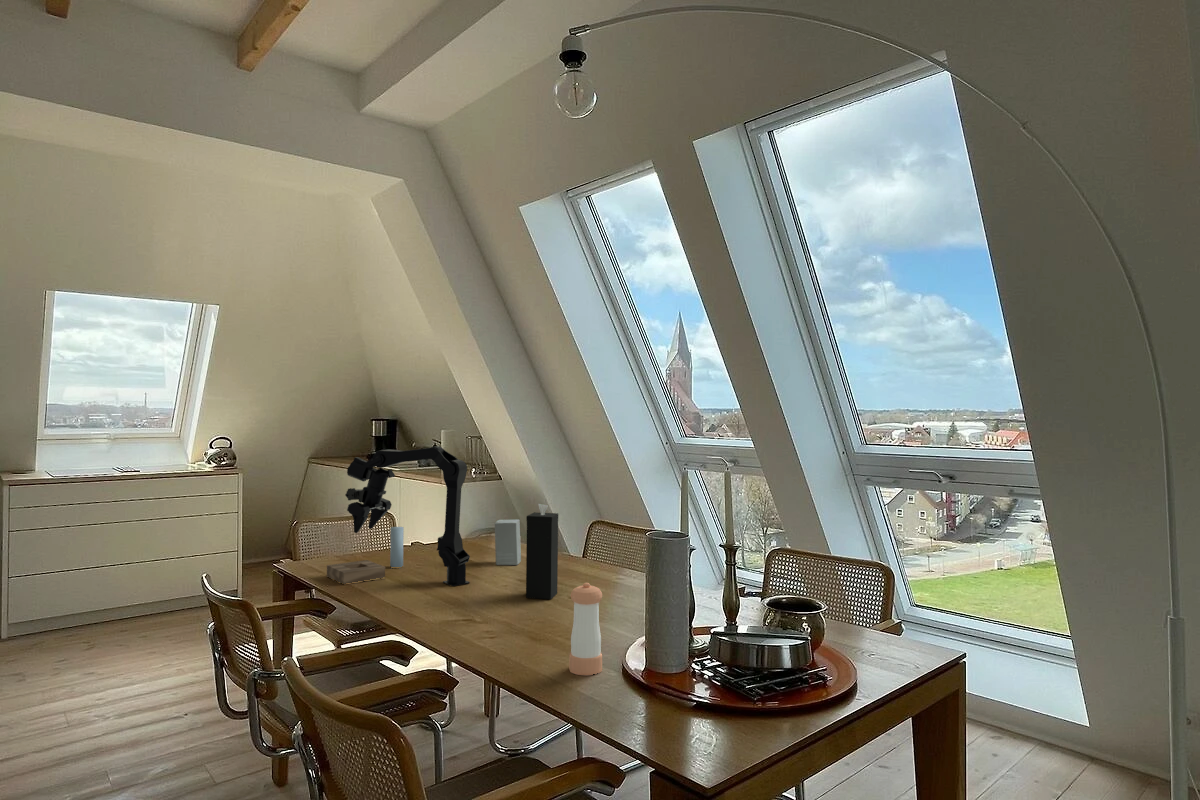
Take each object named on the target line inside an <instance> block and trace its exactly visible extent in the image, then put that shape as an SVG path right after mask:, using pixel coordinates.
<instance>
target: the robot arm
mask: <svg viewBox="0 0 1200 800" xmlns="http://www.w3.org/2000/svg"><path fill="white" fill-rule="evenodd" d="M353 458H354V459H353V461H351V463H350V464H349V466H347V470H346V475H347V476H348V477H351V478H353V479H356V480H359V481H360V482H361V481H362V482H366V481H368V482H367V485H366V486H364V487H362V489H359V488H357V489H356V488H355V487H354V488H353V487H350V488H347V489H346V493H345V495H344V496H345V497H346V498H347V501H355V502H350V504H348V506H347V508H346V511H347V512H348V513H349V514H350V515H351V516H352V520H353V532H354V533H353V534H358V533H359V532H360V531H361V528H362V527H363V526H364V524H365V523H366V521H367V520H368V518H369V521H368V522H369V523H368V529H370V530H371V529H373V528H374V527H375V526H376V525H377V524H378V522H379V521H380V520H381V519H382V517H384V515H385V514H387V513H388V511H390V510H391V508H392V502H391V500H389V499H385V498H384V497H383V495H386V494H387V490H385V489H386V485H387V483H388V478H389V479H390V478H395V477H396V475H395V473H394V471H393V469H392V468H391V469H385V468H389V467H393V466H396V465H400V464H403V463H405V462H412V461H413V462H414V461H423V460H432V461H433V462H434V463H435V465H436V466H437V467H438V468H439V469H440V470H441V471H442V477H443V481H444V484H445V486H446V487H445V488H446V499H445V500H446V501H445V518H444V532H443V534H442V535H441V536H439V537H437V547H436V551H437V552H438V556H439V557H440V558H441V560H442V563H443V566H444V567H447V568H446V580H443V581H442V583H443V584H445V583H446V585H448V586H450V585H451V587H457V586H463V585H469V584H470V583H471V582H470V581H468V580H467V579H466V578H467V577H466V576H467V573H466V572H467V571H466V569H467V566H466V564H467V563H469V561H470V558H471V556H470V554H468V552H467V551H466V550H465V549H464V545H463V543H464V542H463V538H462V535H461V533H460V520H461V519H460V517H461V501H462V500H461V499H462V498H461V497H462V487H463V485H464V483H465V481H466V477H467V472H468V465H467V463H466V462H465V461H464V460H462V459H458V457H456V456H454V455H453V454H451V453H450V452H448V451H446V449H444V448H443V447H441V446H440V445H439V446H438V445H436V446H435V445H434V446H430V447H427V448H426V447H425V448H419V449H417V448H416V449H409V450H399V449H381V450H376V451H375V452H374V454H373V455H372V457H371V458H370V459H368V460H365V459H362V457H359V456H357V457H353ZM369 514H370V517H369Z"/></svg>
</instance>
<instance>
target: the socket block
mask: <svg viewBox="0 0 1200 800" xmlns="http://www.w3.org/2000/svg"><path fill="white" fill-rule="evenodd" d="M327 577H329V578H331V579H334V580H336V581H338V582H340V583H343V584H346V583H352V582H358V581H364V580H370V579H376V578H383V577H385V578H386V566H384V565H382V564H378V563H376V562H373V561H371V560H368V559H364V560H357V561H349V562H342V563H336V564H335V563H334V564H327V565H326V578H327ZM329 578H328V579H329ZM331 579H330V580H331ZM334 580H333V581H334ZM336 581H335V582H336ZM338 582H337V583H338ZM340 583H339V584H340Z"/></svg>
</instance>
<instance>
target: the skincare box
mask: <svg viewBox="0 0 1200 800" xmlns="http://www.w3.org/2000/svg"><path fill="white" fill-rule="evenodd" d="M520 522H521V521H520V519H498V520H496V522H494V544H495V545H494V546H495V547H494V548H495V549H494V550H495V565H496V566H518V565H519V564H520V563H521V561H522V555H521V554H522V553H521V526H520V525H521V524H520Z"/></svg>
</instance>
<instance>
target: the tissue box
mask: <svg viewBox="0 0 1200 800" xmlns="http://www.w3.org/2000/svg"><path fill="white" fill-rule="evenodd" d="M537 504H538V509H539V512H533V513H530V514H527V515H526V549H525V550H526V551H525V552H526V558H525V560H526V563H525V564H526V566H525V568H526V570H525V598H528V599H539V600H552V599H553V598H554V597H556V595H557V594H558V571H559V569H558V565H559V564H558V563H559V561H558V560H559V559H558V557H559V556H558V554H559V553H558V552H559V513H558V512H556V513H555V512H546V511H547V509H548V507H549V505H547V504H543V503H542V504H541V503H537Z"/></svg>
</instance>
